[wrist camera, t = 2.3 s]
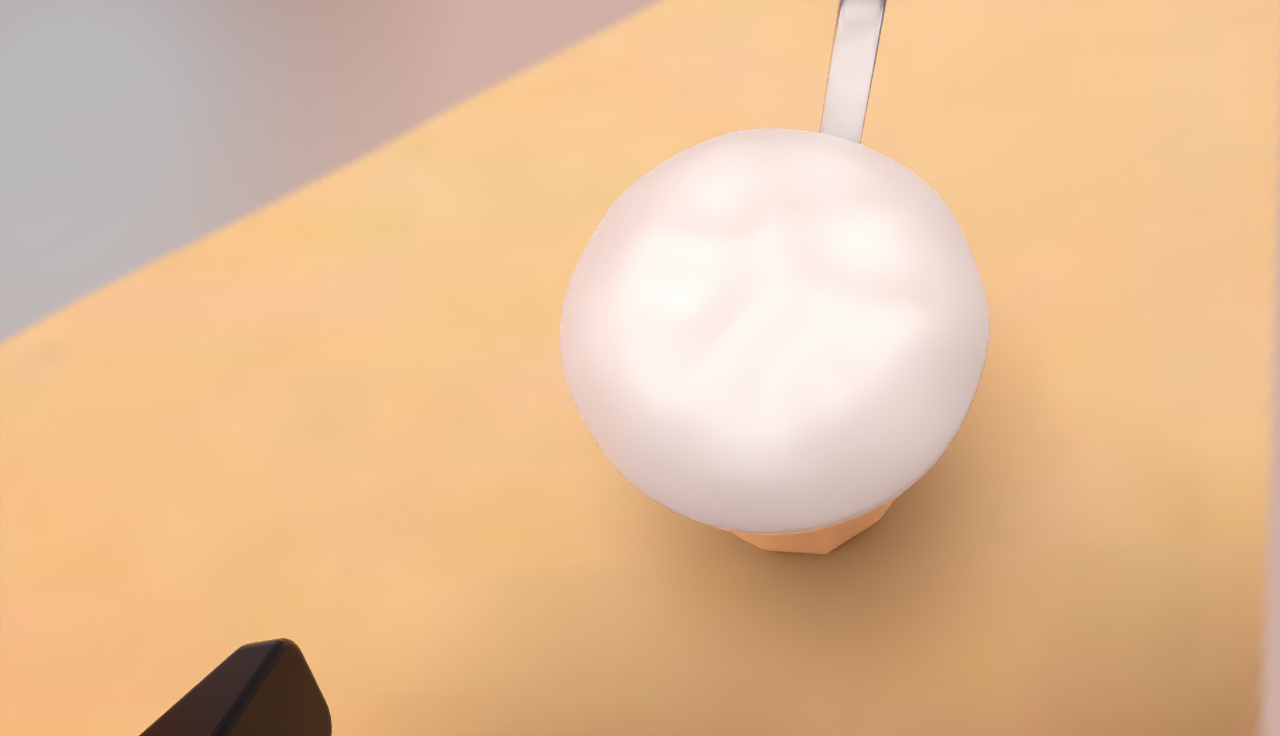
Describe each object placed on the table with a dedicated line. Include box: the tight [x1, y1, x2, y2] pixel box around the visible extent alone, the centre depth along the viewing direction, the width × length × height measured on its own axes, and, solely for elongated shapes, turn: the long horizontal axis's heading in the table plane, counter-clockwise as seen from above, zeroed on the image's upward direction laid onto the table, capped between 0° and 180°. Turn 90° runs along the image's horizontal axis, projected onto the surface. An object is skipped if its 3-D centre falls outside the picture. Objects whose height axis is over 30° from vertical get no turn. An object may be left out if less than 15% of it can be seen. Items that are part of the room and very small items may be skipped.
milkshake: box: [560, 0, 990, 554], centre depth 15 cm, size 4×5×10 cm
